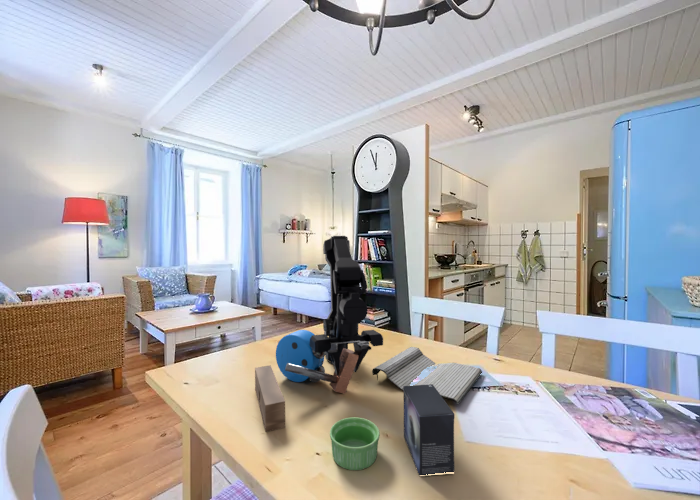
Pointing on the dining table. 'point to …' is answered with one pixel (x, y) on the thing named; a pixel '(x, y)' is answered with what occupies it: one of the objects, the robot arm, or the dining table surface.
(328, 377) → the pin
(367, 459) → the ramekin
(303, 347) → the alarm clock
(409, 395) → the small box
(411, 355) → the mat
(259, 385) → the beam
